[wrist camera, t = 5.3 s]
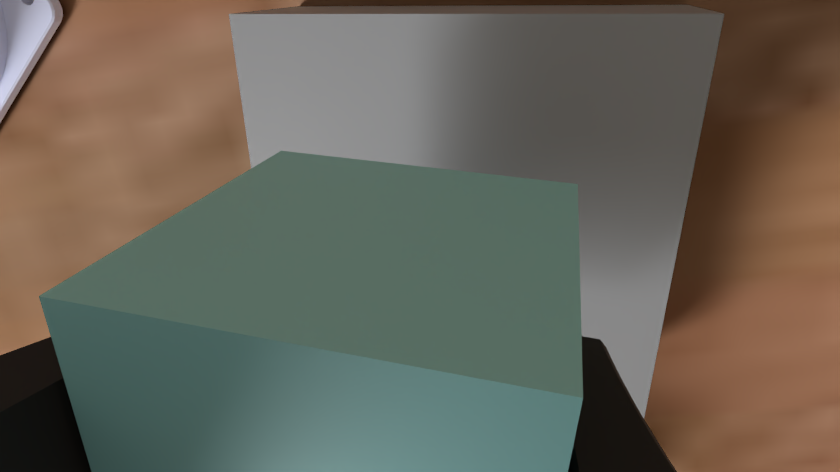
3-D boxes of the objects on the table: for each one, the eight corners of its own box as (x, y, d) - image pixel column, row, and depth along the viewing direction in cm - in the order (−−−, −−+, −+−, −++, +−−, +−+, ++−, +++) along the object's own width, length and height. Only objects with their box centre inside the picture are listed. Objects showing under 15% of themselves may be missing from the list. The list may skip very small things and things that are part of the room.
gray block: (332, 307, 20) (282, 378, 17) (304, 5, 16) (229, 14, 12) (627, 343, 18) (640, 434, 14) (684, 4, 14) (725, 13, 10)
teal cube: (298, 379, 12) (135, 618, 7) (281, 150, 10) (38, 296, 5) (537, 427, 11) (513, 736, 6) (578, 183, 9) (583, 398, 4)
